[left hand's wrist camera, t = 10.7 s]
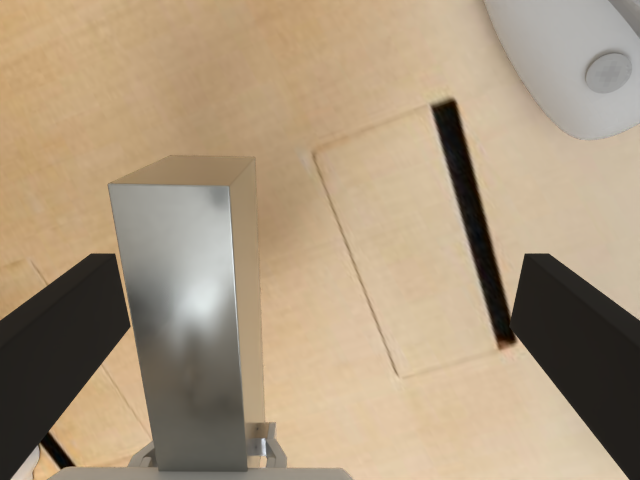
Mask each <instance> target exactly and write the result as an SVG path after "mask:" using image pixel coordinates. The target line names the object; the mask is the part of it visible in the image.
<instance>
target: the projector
mask: <svg viewBox="0 0 640 480" xmlns="http://www.w3.org/2000/svg"><path fill="white" fill-rule="evenodd" d="M484 3H485V6H486V9H487V12H488V14H489V17H490V19H491V22H492V24H493V27H494V29H495V31H496V34H497V36H498V38H499V40H500V42H501V44H502V46H503V48H504V50H505V52H506V54H507V56H508V58H509V60H510V62H511V63H512V65H513V67H514V69H515V70H516V72H517V74H518V76H519V77H520V79H521V80H522V82H523V84H524V85H525V87H526V88H527V90H528V91H529V93H530V94H531V96H532V97H533V98H534V100H535V101H536V103H537V104H538V105H539V106H540V108H541V109H542V110H543V112H544V113H545V114H546V115H547V116H548V117H549V119H550V120H551V121H552V122H553V123H554V124H555V125H556V126H557V127H559V128H560V129H561V130H562V131H564V132H565V133H567V134H568V135H570V136H572V137H574V138H577V139H581V140H597V139H603V138H607V137H611V136H614V135H617V134H619V133H621V132H624V131H626V130H628V129H630V128H632V127H634V126H636V125H638V124H639V123H640V0H484Z"/></svg>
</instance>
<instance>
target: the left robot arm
mask: <svg viewBox="0 0 640 480" xmlns="http://www.w3.org/2000/svg"><path fill="white" fill-rule="evenodd" d="M130 327H131V326H130V321H129V317H128V312H127V307H126V303H125V298H124V293H123V288H122V284H121V279H120V274H119V270H118V265H117V260H116V255H115V254H90V255H89V256H87V257H86V258H85V259H83V260H82V261H81V262H79V263H78V264H76V265H75V266H74V267H72V268H71V269H70V270H68V271H67V272H66V273H64V274H63V275H62V276H60V277H59V278H57V279H56V280H55V281H53V282H52V283H51V284H49V285H48V286H47V287H45V288H44V289H43V290H41V291H40V292H39V293H37V294H36V295H34V296H33V297H32V298H30V299H29V300H28V301H26V302H25V303H24V304H22V305H21V306H20V307H18V308H17V309H15V310H14V311H13V312H11V313H10V314H9V315H7V316H6V317H5V318H3V319H2V320H1V321H0V480H11V479H12V477H13V476H14V475H15V473H16V472H17V471H18V470H19V468H20V467H21V466H22V464H23V463H24V462H25V461H26V459H27V458H28V457H29V456H30V454H31V453H32V452H33V450H34V449H35V448H36V447H37V445H38V444H39V443H40V442H41V440H42V439H43V438H44V436H45V435H46V434H47V433H48V431H49V430H50V429H51V427H52V426H53V425H54V424H55V422H56V421H57V420H58V419H59V417H60V416H61V415H62V413H63V412H64V411H65V410H66V408H67V407H68V406H69V404H70V403H71V402H72V401H73V399H74V398H75V397H76V396H77V394H78V393H79V392H80V390H81V389H82V388H83V387H84V385H85V384H86V383H87V382H88V380H89V379H90V378H91V376H92V375H93V374H94V373H95V371H96V370H97V369H98V367H99V366H100V365H101V364H102V362H103V361H104V360H105V359H106V357H107V356H108V355H109V353H110V352H111V351H112V350H113V348H114V347H115V346H116V345H117V343H118V342H119V341H120V339H121V338H122V337H123V336H124V334H125V333H126V332H127V330H128V329H129V328H130ZM509 327H510V328H511V329H512V330H513V332H514V333H515V334H516V336H517V337H518V338H519V339H520V341H521V342H522V343H523V345H524V346H525V347H526V348H527V350H528V351H529V352H530V353H531V355H532V356H533V357H534V359H535V360H536V361H537V362H538V364H539V365H540V366H541V367H542V369H543V370H544V371H545V373H546V374H547V375H548V376H549V378H550V379H551V380H552V382H553V383H554V384H555V385H556V387H557V388H558V389H559V390H560V392H561V393H562V394H563V396H564V397H565V398H566V399H567V401H568V402H569V403H570V404H571V406H572V407H573V408H574V410H575V411H576V412H577V413H578V415H579V416H580V417H581V419H582V420H583V421H584V422H585V424H586V425H587V426H588V427H589V429H590V430H591V431H592V433H593V434H594V435H595V436H596V438H597V439H598V440H599V442H600V443H601V444H602V445H603V447H604V448H605V449H606V450H607V452H608V453H609V454H610V456H611V457H612V458H613V459H614V461H615V462H616V463H617V464H618V466H619V467H620V468H621V470H622V471H623V472H624V473H625V475H626V476H627V477H628V479H629V480H640V321H639V320H638V319H637V318H635V317H634V316H633V315H631V314H630V313H629V312H627V311H626V310H625V309H623V308H622V307H620V306H619V305H618V304H616V303H615V302H614V301H612V300H611V299H610V298H608V297H607V296H606V295H604V294H603V293H601V292H600V291H599V290H597V289H596V288H595V287H593V286H592V285H591V284H589V283H588V282H587V281H585V280H584V279H583V278H581V277H580V276H578V275H577V274H576V273H574V272H573V271H572V270H570V269H569V268H568V267H566V266H565V265H564V264H562V263H561V262H559V261H558V260H557V259H555V258H554V257H553V256H551V255H550V254H525V255H524V260H523V265H522V270H521V274H520V279H519V284H518V288H517V293H516V298H515V303H514V307H513V312H512V317H511V321H510V326H509Z"/></svg>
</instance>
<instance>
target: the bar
mask: <svg viewBox="0 0 640 480" xmlns="http://www.w3.org/2000/svg"><path fill="white" fill-rule="evenodd" d="M108 189H109V195H110V201H111V206H112V212H113V218H114V223H115V229H116V235H117V240H118V246H119V251H120V257H121V263H122V268H123V274H124V280H125V285H126V291H127V297H128V302H129V308H130V313H131V319H132V325H133V330H134V336H135V342H136V347H137V353H138V359H139V364H140V370H141V375H142V381H143V387H144V392H145V398H146V404H147V409H148V415H149V420H150V426H151V432H152V437H153V443H154V449H155V454H156V460H157V466H158V471H171V472H247V471H248V468H259V466H260V460H261V456H256V433H257V430H258V429H257V427H258V423H263V422H265V401H264V375H263V348H262V321H261V295H260V268H259V242H258V215H257V189H256V162H255V157H237V156H188V155H170V156H168V157H165V158H163V159H161V160H159V161H157V162H155V163H152V164H150V165H148V166H146V167H144V168H141V169H139V170H137V171H135V172H133V173H130V174H128V175H126V176H124V177H122V178H119V179H117V180H115V181H113V182H111V183H108Z"/></svg>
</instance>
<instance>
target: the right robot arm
mask: <svg viewBox="0 0 640 480" xmlns="http://www.w3.org/2000/svg"><path fill="white" fill-rule="evenodd" d="M257 429H258V430H257V433H256V456H266V457H267V465H266V468H248V471H247V472H171V471H158V466H157V460H156V454H155V449H154V443H153V441H152V442H150V443H149V444H148V445H146V446H145V447H144V448H143V449H141V450H140V451H139V452H138V453H136V454H135V455H134V456H132V458H131V460H130V462H129V464H128V466H127V467H66V468H64V469H62V470H60V471H59V472H57V473H56V474H54V475H53V476H51V477H50V478H48V479H47V480H354V479H353V478H352V477H351V476H350V475H349V473H348V472H347V471H345V470H344V469H342V468H287V457H286V455H285V453H284V452H283V450H282V448H281V447H280V445H279V444H278V442H277V440H276V422H263V423H258V427H257ZM38 460H39V447H38V445H37V447H36V448H35V449H34V450H33V452H32V453H31V454H30V456H29V457H28V458H27V459H26V461H25V462H24V463H23V464H22V466H21V467H20V468H19V470H18V471H17V472H16V473H15V475H14V476H13V477H12V479H11V480H33V474H32V472H33V470H34V468H35V466H36V465H37V463H38Z"/></svg>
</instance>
